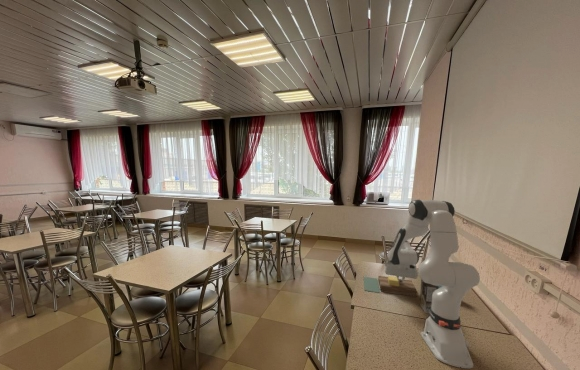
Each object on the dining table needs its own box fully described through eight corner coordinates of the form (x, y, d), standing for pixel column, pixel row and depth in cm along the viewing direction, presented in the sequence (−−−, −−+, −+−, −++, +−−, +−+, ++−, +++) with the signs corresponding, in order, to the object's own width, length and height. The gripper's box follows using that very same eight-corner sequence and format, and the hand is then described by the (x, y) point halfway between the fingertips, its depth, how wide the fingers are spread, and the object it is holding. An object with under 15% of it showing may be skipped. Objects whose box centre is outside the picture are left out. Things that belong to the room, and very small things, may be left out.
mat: (380, 293, 146) (380, 292, 146) (364, 290, 149) (364, 290, 149) (377, 278, 165) (377, 278, 165) (363, 276, 168) (363, 276, 168)
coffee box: (437, 314, 125) (439, 288, 124) (425, 313, 126) (427, 286, 125) (430, 305, 134) (432, 280, 133) (419, 303, 135) (420, 278, 134)
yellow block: (399, 286, 148) (399, 283, 147) (389, 284, 149) (389, 281, 149) (396, 279, 156) (396, 277, 156) (387, 278, 158) (387, 275, 158)
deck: (416, 296, 143) (417, 291, 142) (380, 290, 149) (380, 285, 148) (411, 286, 156) (411, 280, 156) (378, 280, 162) (378, 275, 162)
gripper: (385, 262, 150) (384, 281, 151) (419, 267, 144) (417, 287, 146) (384, 259, 156) (383, 277, 157) (416, 263, 151) (415, 282, 152)
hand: (400, 282), depth 151 cm, fingers closed
